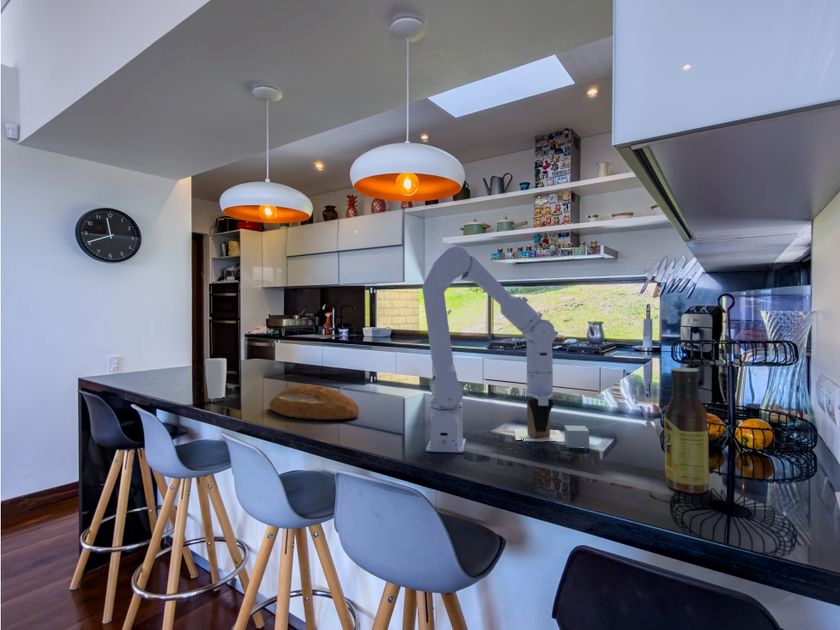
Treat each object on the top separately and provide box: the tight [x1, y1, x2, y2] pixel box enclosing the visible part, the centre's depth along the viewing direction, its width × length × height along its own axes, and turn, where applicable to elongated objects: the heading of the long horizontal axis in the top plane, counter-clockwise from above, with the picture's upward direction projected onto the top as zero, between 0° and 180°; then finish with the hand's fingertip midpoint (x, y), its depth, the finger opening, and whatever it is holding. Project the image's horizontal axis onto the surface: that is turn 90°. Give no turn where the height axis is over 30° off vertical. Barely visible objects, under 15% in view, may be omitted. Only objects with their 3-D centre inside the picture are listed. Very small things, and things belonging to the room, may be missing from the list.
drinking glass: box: [204, 357, 227, 399], centre depth 158 cm, size 7×7×15 cm
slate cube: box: [563, 424, 590, 449], centre depth 99 cm, size 4×4×4 cm
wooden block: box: [526, 401, 551, 438], centre depth 108 cm, size 4×4×8 cm
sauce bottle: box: [663, 367, 710, 495], centre depth 74 cm, size 7×6×20 cm
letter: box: [513, 428, 565, 443], centre depth 108 cm, size 10×11×1 cm
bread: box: [268, 383, 360, 421], centre depth 137 cm, size 18×35×9 cm, turn 55°
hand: (540, 431), depth 103 cm, fingers closed
